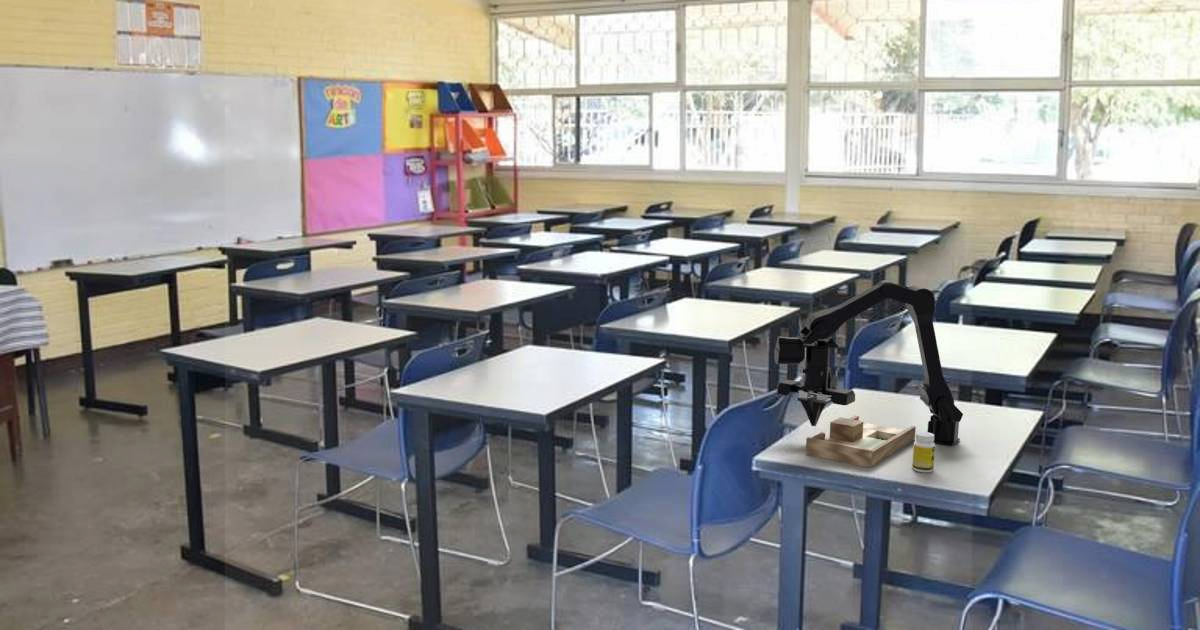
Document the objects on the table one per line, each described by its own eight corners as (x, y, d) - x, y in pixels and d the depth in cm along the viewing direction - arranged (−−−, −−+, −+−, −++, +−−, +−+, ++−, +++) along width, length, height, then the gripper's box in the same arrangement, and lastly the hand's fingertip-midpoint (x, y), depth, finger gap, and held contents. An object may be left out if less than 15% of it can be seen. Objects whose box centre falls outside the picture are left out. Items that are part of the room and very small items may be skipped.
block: (862, 437, 255) (863, 421, 254) (852, 442, 250) (853, 426, 249) (839, 432, 258) (840, 417, 257) (829, 438, 253) (830, 422, 253)
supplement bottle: (934, 473, 234) (937, 437, 232) (912, 472, 235) (915, 436, 233) (932, 467, 238) (934, 432, 237) (910, 465, 239) (913, 430, 238)
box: (914, 439, 260) (915, 424, 260) (869, 467, 237) (870, 450, 237) (854, 428, 270) (855, 413, 269) (805, 454, 247) (806, 437, 246)
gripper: (865, 364, 257) (862, 425, 259) (796, 354, 268) (794, 413, 270) (847, 372, 248) (843, 435, 250) (777, 361, 259) (774, 421, 261)
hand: (813, 425), depth 258 cm, fingers closed
